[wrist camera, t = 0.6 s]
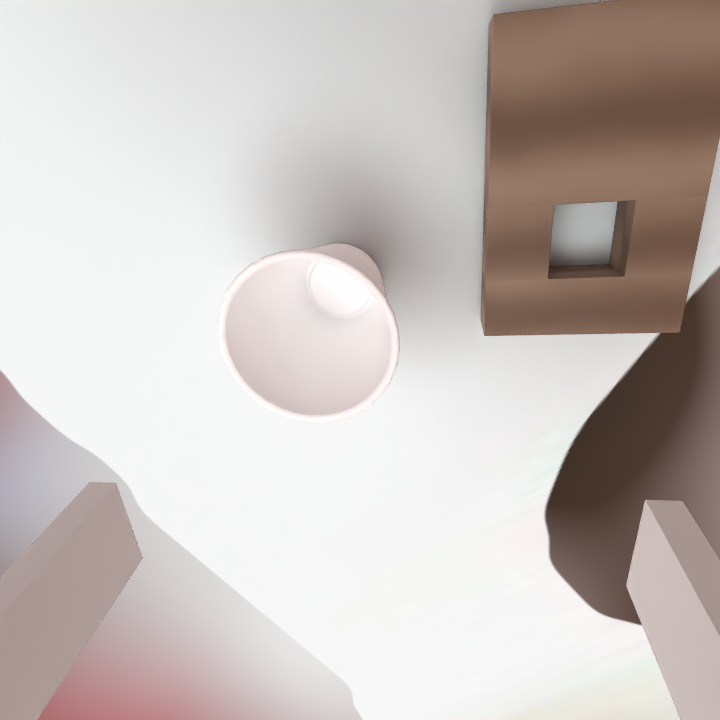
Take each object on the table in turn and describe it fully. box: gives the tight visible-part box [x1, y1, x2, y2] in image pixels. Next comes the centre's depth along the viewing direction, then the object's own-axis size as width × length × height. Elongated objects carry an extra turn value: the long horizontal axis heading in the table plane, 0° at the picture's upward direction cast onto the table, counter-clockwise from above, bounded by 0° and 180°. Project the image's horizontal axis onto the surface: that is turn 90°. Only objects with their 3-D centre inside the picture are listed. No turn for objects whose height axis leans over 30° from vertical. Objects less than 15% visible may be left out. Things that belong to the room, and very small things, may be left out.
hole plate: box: [481, 0, 720, 336], centre depth 30 cm, size 18×12×3 cm, turn 5°
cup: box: [218, 243, 400, 422], centre depth 31 cm, size 10×10×11 cm
